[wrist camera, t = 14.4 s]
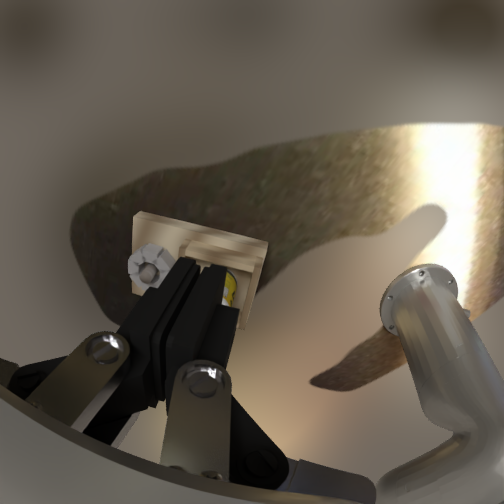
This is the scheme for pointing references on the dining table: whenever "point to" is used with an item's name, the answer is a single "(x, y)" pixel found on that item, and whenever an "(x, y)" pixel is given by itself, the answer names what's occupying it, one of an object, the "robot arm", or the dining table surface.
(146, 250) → the wheel
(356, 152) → the dining table surface
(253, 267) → the wooden peg tray
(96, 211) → the dining table surface
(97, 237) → the dining table surface
